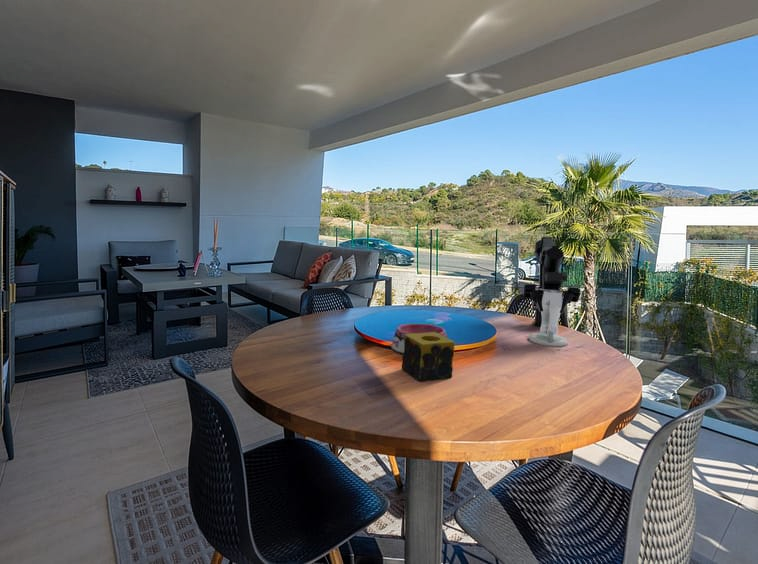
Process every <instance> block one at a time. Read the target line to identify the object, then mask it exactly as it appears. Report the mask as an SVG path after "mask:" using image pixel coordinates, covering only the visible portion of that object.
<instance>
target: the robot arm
mask: <svg viewBox="0 0 758 564" xmlns="http://www.w3.org/2000/svg"><path fill="white" fill-rule="evenodd" d="M533 253H534V255H535V259H536V260H537V262H538V264H539V268H538V272H539V274H538V276H539V277H538V286H537V284H533V283H525V284H524V286H523V290H522V291H523V292H522V298H523V299H529V300H530V301H532V302H531V303H532V304H531V309H532V311H535V313H534V321H532V325H533V326H536V327H541V324H542V314H541V299H542V293H543V290H547V289H549V290H559V291H562V292H563V304H562V310H561V314H560V315H562V314H564V311H565V308H566V307H567V305H568V304H571V303H577V302H579V300H580V297H581V293H582V292H581V291H582V290H581V289H580V287H577V286H568V287H567V290H562V289H561V288H562V283H566V282H567V280H568V272H567V271H561V272H560V268H561V265H562V262H564V261H565V256H564V253H565V252H564V251H563V250H562V249H560V248H559V247H558V246H557V243H556V241H555V238H554V237H553V236H542V237H540V239H539V240H537V241H536V242H535V244H534V251H533ZM560 289H561V290H560Z"/></svg>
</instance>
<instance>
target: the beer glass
mask: <svg viewBox="0 0 758 564" xmlns="http://www.w3.org/2000/svg"><path fill="white" fill-rule="evenodd" d="M562 304H563V292H562V291H559V290H549V289H547V290H543V293H542V299H541V314H542V324H541V326H540V327H539V328H540V329H539V333H543V334H547V335H548V332H549V331H551V332H554V333H553V335H559V328H558V327H559V320H560V316H561V315H562V314H561V310H562Z"/></svg>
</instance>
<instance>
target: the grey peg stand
mask: <svg viewBox="0 0 758 564" xmlns="http://www.w3.org/2000/svg"><path fill="white" fill-rule="evenodd" d="M553 333H554V332H551V331H549V332H548V335H547V334H543V333H541V332H535V333H533V332H532V333H529V335H528V340H529V341H530V342H531V343H534V344H538V345H542V346H546V347H559V348H560V347H566V346H568V345H569V339H568V338H566V337H564V336H561V335H559V334H557V335H553Z"/></svg>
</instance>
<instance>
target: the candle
mask: <svg viewBox="0 0 758 564" xmlns="http://www.w3.org/2000/svg"><path fill="white" fill-rule="evenodd" d="M455 344H456V343H455V341H454V340H452V339H450V338H448V337H447V338H446V337H444V336H442V335H440V334H438V333H436V332H430V333H414V334H404V353H403V355H402V361H401V362H402V363H401V370H403V371H404V372H405V373H407V374H408V375H409V376H411V377H412V378H414V379H415V380H416V381H417V382H421V383H422V382H430V381H437V380H438V381H439V380H444V379H452V378H453V370H454V369H453V361H454V356H455V355H454V354H455Z"/></svg>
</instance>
